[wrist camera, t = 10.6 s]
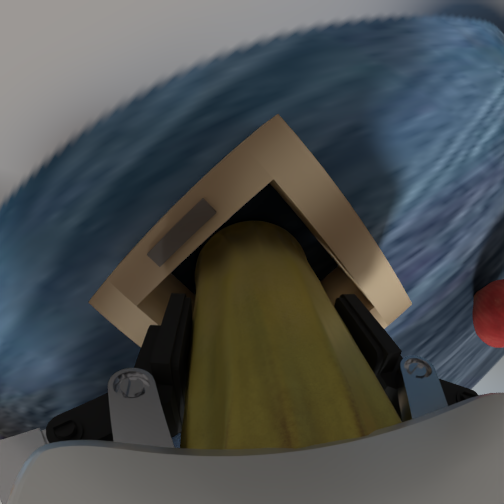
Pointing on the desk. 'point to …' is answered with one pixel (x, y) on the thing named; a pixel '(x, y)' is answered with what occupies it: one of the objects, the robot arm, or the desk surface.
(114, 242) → the desk surface
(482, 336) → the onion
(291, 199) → the wooden box
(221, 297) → the vase
